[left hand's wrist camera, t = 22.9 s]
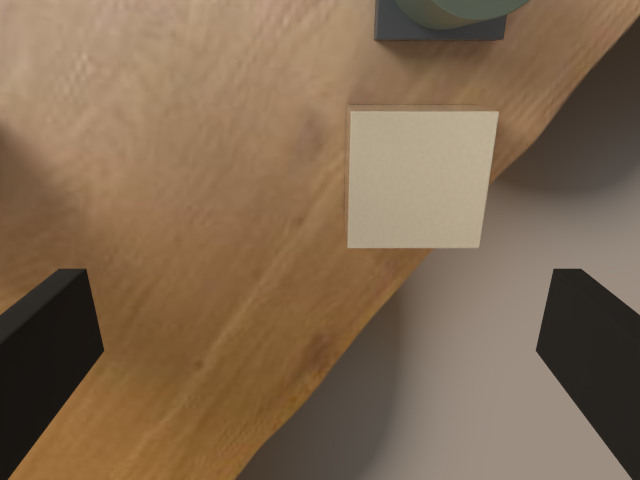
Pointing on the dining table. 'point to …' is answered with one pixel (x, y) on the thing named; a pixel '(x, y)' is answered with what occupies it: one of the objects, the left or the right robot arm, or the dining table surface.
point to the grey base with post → (442, 19)
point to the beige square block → (417, 175)
